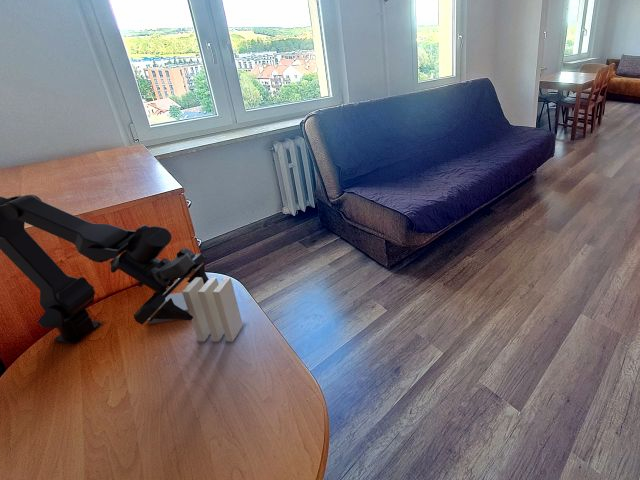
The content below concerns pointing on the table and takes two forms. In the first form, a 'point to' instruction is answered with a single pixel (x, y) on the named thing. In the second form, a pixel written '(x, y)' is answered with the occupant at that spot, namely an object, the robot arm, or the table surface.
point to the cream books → (220, 309)
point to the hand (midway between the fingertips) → (204, 304)
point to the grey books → (178, 301)
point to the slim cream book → (196, 308)
